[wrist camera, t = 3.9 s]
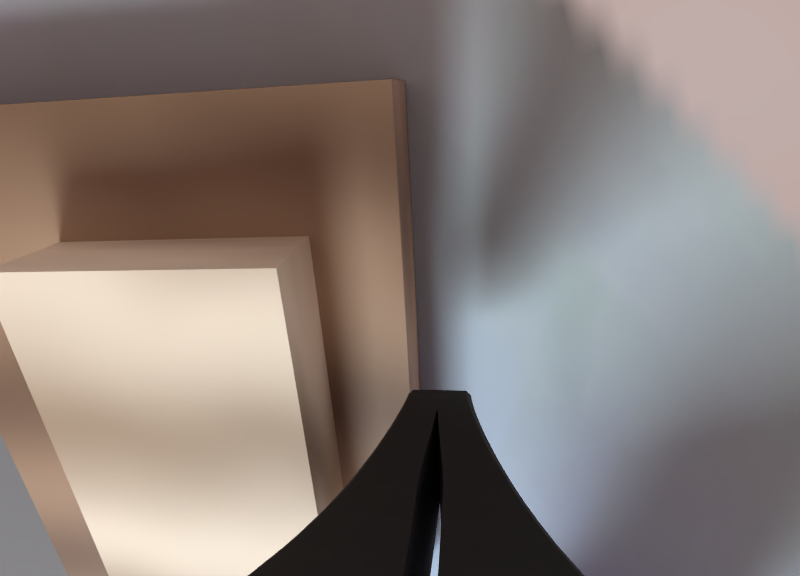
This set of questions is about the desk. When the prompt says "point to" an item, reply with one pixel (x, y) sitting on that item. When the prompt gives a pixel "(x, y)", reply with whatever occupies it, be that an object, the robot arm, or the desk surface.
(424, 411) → the robot arm
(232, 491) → the tile
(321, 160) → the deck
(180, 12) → the desk surface
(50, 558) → the mat
